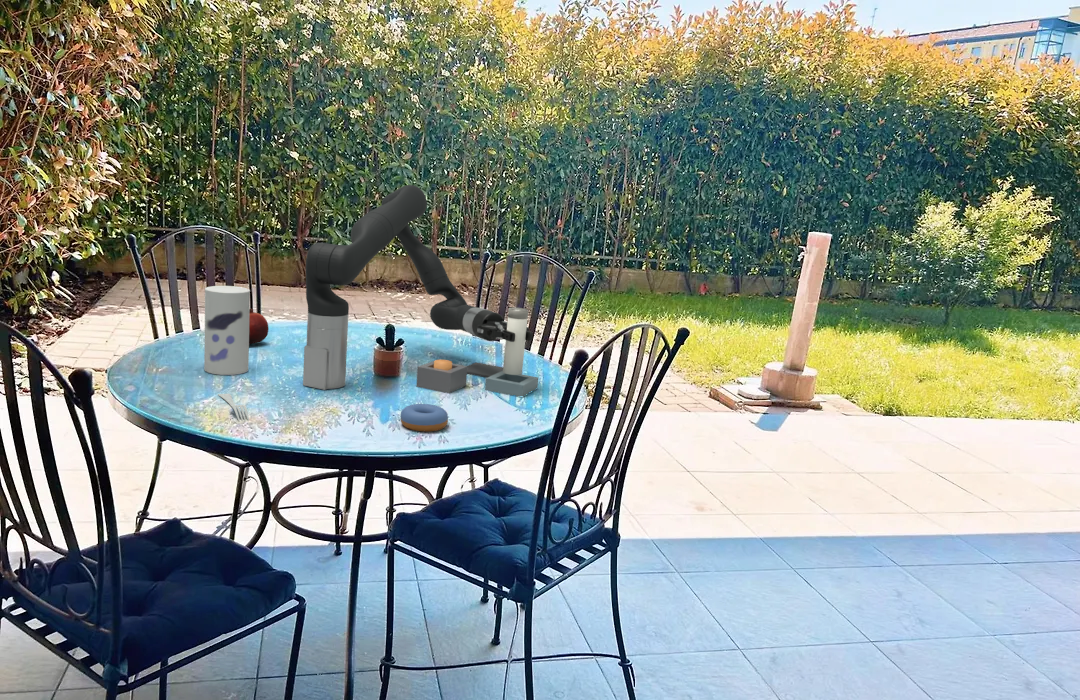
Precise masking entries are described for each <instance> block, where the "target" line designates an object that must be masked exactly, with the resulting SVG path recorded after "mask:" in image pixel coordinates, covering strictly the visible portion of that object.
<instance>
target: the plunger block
mask: <svg viewBox="0 0 1080 700" xmlns="http://www.w3.org/2000/svg"><path fill="white" fill-rule="evenodd" d="M434 361H435V360H432V361H430V362H428V363H424V364H421V365H418V366H417V371H416V372H417V374H416V385H415V386H416V387H417V388H421V389H422V388H423V389H426V390H431V391H435V392H436V391H437V392H440V391H441V393H445V392H447V394H451V393H453V392H454V391H457V389H458V390H460V389H462V388H464V387H467V379H468V377H467V376H468V374H467V366H468V365H462V364H458V363H453V362H452V369H450V370H448V371H447V370H442V369H437V368H434ZM461 387H462V388H461ZM459 388H460V389H459ZM452 391H453V392H452ZM450 392H451V393H450Z"/></svg>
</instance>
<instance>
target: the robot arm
mask: <svg viewBox="0 0 1080 700" xmlns="http://www.w3.org/2000/svg"><path fill="white" fill-rule="evenodd" d="M427 207H428V201H427V197H426V195H425V193H424V192H423V190H422V189H421V188H420V187H419V186H416V185H414V184H407V185H403V186H401V187H400V188H398V189H395V190H394V191H392V192H391V193H389V194H387V195H386V196H385V197H383V199H382V200H381V205H380V206H378V207H376V208H374V209H372V210H370V211H369V212H367V213H365V214H364V215H363V216H361V217H360V218H359V219H358V220H357V221H356V222H355V223H354V224H353V225H352V228H351V231H350V239H351V244H347V245H345V244H344V245H342V244H334V243H328V242H327V243H326V242H315V243H313V244H312V245H311V246H310V247H309V249H308V251H307V254H306V259H305V297H306V303H307V321H306V323H307V325H306V326H307V327H306V345H305V346H304V347H303V348H304V349H303V351H304V352H303V376H302V379H303V380H302V385H303V386H305V387H310V388H313V389H319V390H324V391H326V390H330V389H339V388H342V387H344V386H346V379H347V377H346V375H347V355H348V354H347V353H348V352H347V351H348V333H349V313H350V312H349V310H350V305H349V301H348V300H346V299H344V298H343V297H340V296H339V295H338V294H336V293H335V292H334V291H333V290H332V288H331V286H332V285H333V286H334V285H335V286H347V285H350V284H351V283H352V282H354V281H355V280H356V279H357V277H358V276H359V275H360V273H362V271H363V270H364V269H365V267H366V266H367V264H369V263H370V261H371V260H372V259H373V258H374V257H375V256H376V255H378V253H380V252H381V251H382V250H384V248H386V247H387V246H388V245H390V243H391V242H392V241H393V240H394V239H395V238H397V239H398V241H399V243H400V244H401V246H402V247H403V248H404V250H405V251H406V253H407V254H408V256H409V259H410V260H411V261H412V263H413V264H414V266H415V269H416V272H417V273H418V275H419V278H420V279H421V282H422V285H423V286H424V290H425V291H426V293H427V294H428V295H430V296H436V295H441V296H443V297H444V298H445V299H444V300H442V301H440V302H437V303H435V304H434V305H433V306H432V307H431V308H430V311H429V316H430V319H431V321H432V323H433V324H434V325H435V326H436V327H437V328H438V329H442V330H448V331H460V330H461V331H463V332H465V333H469V334H470V335H472V336H474V337H476V338H479V339H482V340H485V341H487V342H495V341H497V340H504V341H506V340H507V341H510V342H514V341H515V333H513V332H510V331H507V323H508V321H505V320H504V317H503V316H502V315H501V314H500V313H498V312H495V311H492V310H488V309H486V308H481V307H477V306H473V305H469V304H468V303H467V301H466V299H465V298H464V297H463V296H462V294H461V293H460V292H459V291H458V289H457V288H456V287H455V285H454V284H453V283H452V281H451V280H450V278H449V276H448V274H447V271H446V269H445V267H444V265H443V263H442V261H441V259H440V258H439V256H438V255H437V254H436V253H435V252H434V251H433V250H432V249H430V248H429V247H428V246H426V245H425V244H423V243H422V242H421V241H420V240H419V239H418V238H417V237H416V236H415V235H414V233H413V232H412V229H411V228H410V226H409V224H410V223H411V222H413V221H415V220H416V219H417V220H418V219H419V218H421V217H422V216H423V215H425V212H426V210H427ZM330 285H331V286H330ZM533 337H534V333H533V332H532V331H530V328H529V327H528V326H527V329H526V339H525V341H527V342H532V341H533Z"/></svg>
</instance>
